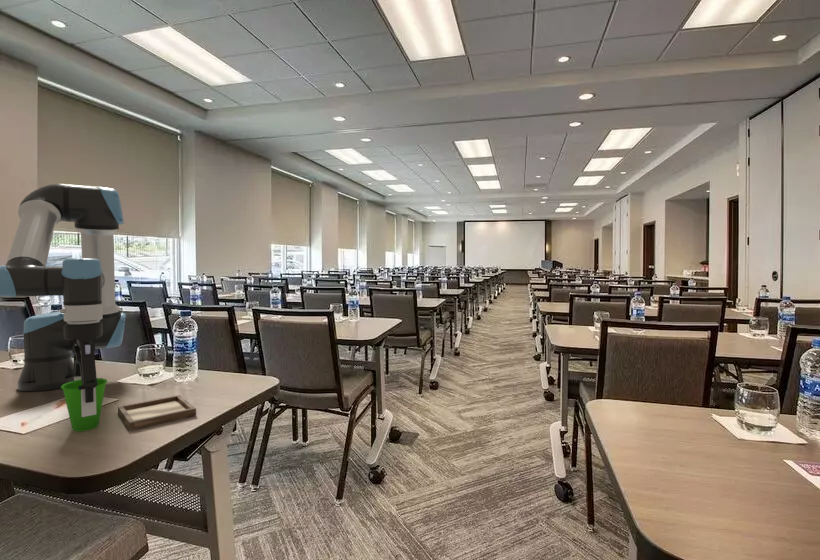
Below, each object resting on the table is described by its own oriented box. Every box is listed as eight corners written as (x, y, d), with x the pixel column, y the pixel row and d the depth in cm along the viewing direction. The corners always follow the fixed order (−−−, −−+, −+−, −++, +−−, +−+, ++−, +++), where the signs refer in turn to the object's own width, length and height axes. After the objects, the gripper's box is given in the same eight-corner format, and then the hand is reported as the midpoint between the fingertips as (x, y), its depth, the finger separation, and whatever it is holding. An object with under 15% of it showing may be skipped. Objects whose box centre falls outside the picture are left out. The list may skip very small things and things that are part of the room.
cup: (83, 436, 100) (82, 390, 99) (52, 432, 101) (50, 387, 101) (117, 422, 108) (116, 379, 108) (87, 419, 110) (86, 377, 110)
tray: (117, 413, 114) (117, 406, 114) (179, 401, 124) (179, 394, 124) (129, 430, 103) (129, 422, 103) (196, 415, 114) (196, 408, 113)
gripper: (58, 318, 110) (60, 399, 111) (69, 329, 92) (71, 426, 93) (94, 315, 115) (96, 393, 116) (111, 326, 97) (112, 417, 98)
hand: (85, 408), depth 104 cm, fingers open, 13 cm apart
